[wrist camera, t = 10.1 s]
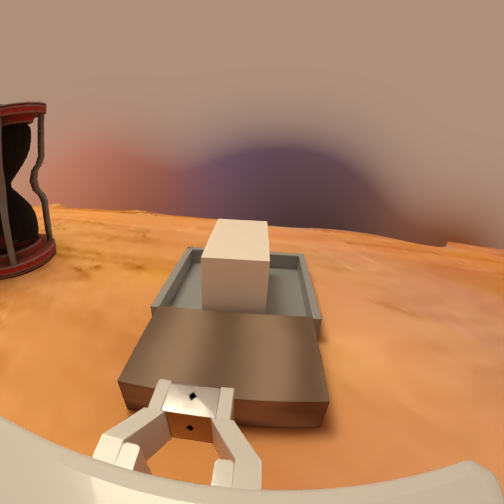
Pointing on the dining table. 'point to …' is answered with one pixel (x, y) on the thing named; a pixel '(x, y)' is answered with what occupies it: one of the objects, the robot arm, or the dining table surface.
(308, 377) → the brown flat block
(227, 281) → the cream block
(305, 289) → the gray tray
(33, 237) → the hourglass
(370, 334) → the dining table surface
